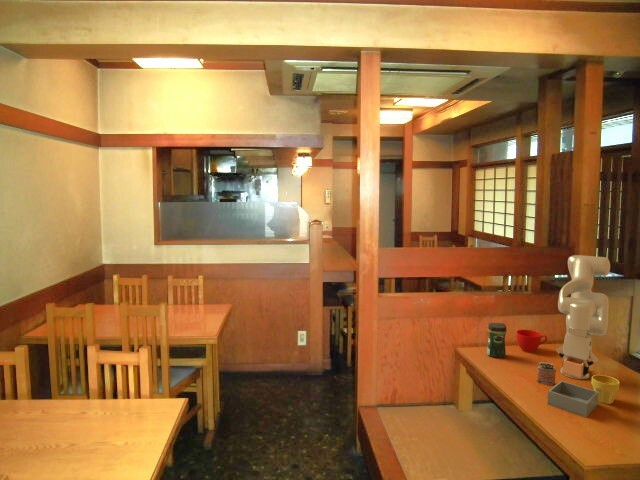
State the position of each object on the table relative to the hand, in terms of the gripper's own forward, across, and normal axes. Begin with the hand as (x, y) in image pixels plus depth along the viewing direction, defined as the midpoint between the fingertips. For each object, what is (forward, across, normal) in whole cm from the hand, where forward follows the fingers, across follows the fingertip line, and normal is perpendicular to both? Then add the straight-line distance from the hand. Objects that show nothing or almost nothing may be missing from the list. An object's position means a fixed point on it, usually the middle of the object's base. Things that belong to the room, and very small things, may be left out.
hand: (575, 371), depth 188 cm
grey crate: (+15, 0, 0) cm, 15 cm away
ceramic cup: (+15, +38, -52) cm, 66 cm away
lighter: (+15, +16, -14) cm, 26 cm away
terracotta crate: (+1, 0, 0) cm, 1 cm away
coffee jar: (+15, +48, -29) cm, 58 cm away
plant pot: (+15, -8, -15) cm, 23 cm away
